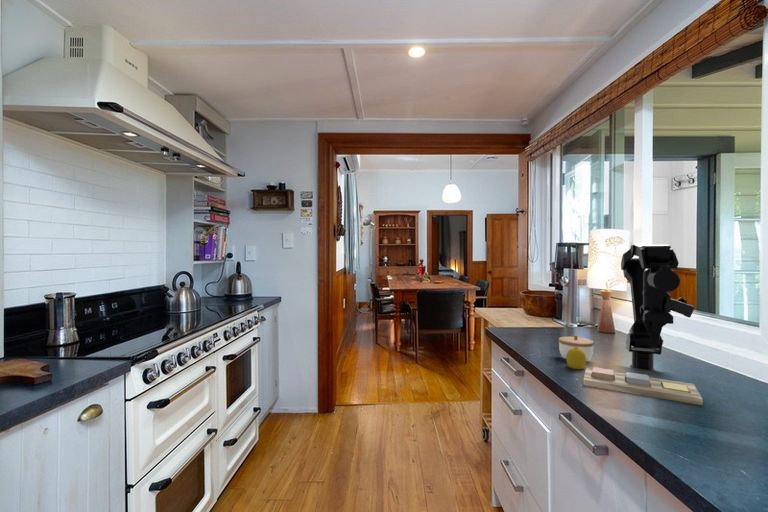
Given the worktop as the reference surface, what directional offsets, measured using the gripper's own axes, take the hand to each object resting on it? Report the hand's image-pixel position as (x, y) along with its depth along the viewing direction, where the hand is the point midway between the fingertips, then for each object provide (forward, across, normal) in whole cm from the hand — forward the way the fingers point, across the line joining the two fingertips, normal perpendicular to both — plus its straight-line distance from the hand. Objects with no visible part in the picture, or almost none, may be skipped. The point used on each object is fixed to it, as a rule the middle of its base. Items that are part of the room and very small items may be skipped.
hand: (655, 343), depth 104 cm
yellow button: (+12, -10, -4) cm, 15 cm away
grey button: (+10, -10, +4) cm, 15 cm away
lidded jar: (+12, +13, +21) cm, 28 cm away
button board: (+12, -10, +4) cm, 16 cm away
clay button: (+10, -10, +12) cm, 19 cm away
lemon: (+12, +1, +20) cm, 23 cm away
